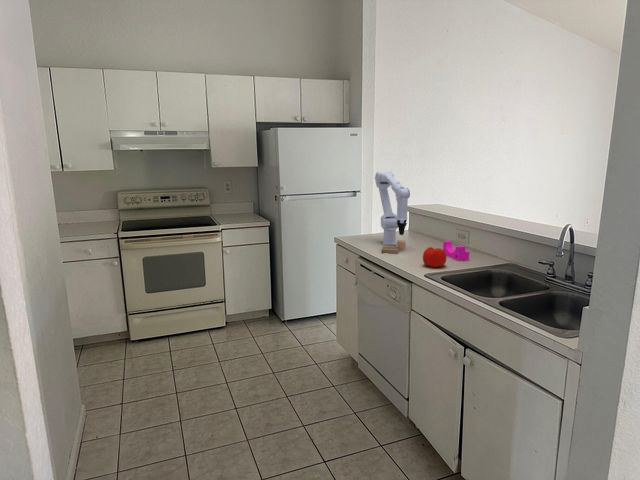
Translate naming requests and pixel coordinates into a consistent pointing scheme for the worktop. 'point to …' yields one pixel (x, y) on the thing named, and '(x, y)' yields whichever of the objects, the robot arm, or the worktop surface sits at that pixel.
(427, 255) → the tomato
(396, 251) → the walnut block
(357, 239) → the worktop surface
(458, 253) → the toy block
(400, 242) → the terracotta block
